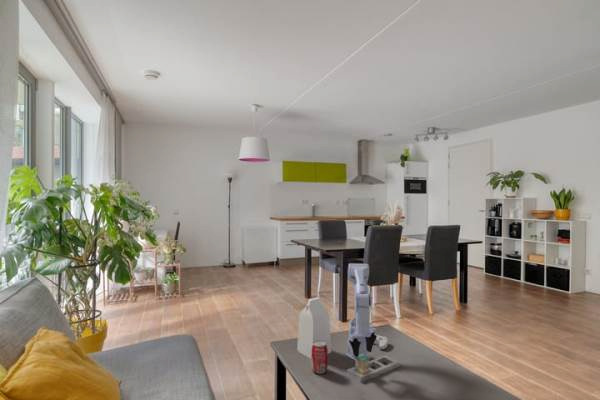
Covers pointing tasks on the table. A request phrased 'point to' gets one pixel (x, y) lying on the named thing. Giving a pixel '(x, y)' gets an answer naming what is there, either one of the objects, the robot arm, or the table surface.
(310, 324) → the milk
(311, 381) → the table surface
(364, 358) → the peg
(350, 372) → the grey compartment tray
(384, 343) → the game controller
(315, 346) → the soda can
